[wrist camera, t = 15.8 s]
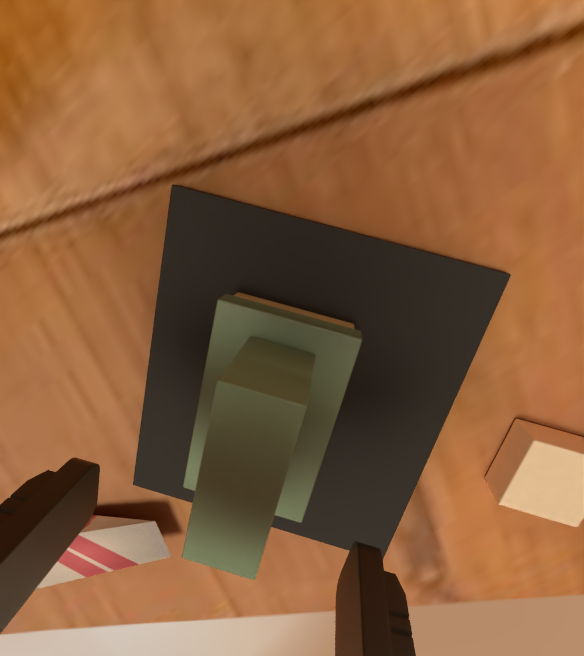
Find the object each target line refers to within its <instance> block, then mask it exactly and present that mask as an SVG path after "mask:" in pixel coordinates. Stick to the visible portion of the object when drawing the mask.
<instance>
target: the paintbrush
mask: <svg viewBox="0 0 584 656" xmlns="http://www.w3.org/2000/svg"><path fill="white" fill-rule="evenodd" d="M168 557H171V555H170V553H169V550H168V548H167V546H166V544H165V542H164V539H163V537H162V535H161V533H160V531H159V528H158V526H157V524H156V522H155V521H149V520H139V519H128V518H118V517H108V516H97V515H92V517H91V518H90V520H89V522H88V523H87V524H86V526H85V527H84V528H83V529H82V531H81V532H80V533H79V535H78V536H77V537H76V538H75V540H74V541H73V542H72V543H71V545H70V546H69V547H68V549H67V550H66V551H65V552H64V554H63V555H62V556H61V557H60V559H59V560H58V561H57V562H56V564H55V565H54V566H53V568H52V569H51V570H50V571H49V573H48V574H47V575H46V576H45V578H44V579H43V580H42V582H41V583H40V584H39V585H38V587H37V588H36V589H39V588H43V587H47V586H51V585H55V584H59V583H64V582H68V581H72V580H76V579H80V578H84V577H89V576H93V575H97V574H101V573H105V572H109V571H114V570H118V569H122V568H126V567H130V566H134V565H139V564H143V563H147V562H151V561H155V560H159V559H164V558H168Z"/></svg>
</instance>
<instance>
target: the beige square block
mask: <svg viewBox="0 0 584 656" xmlns="http://www.w3.org/2000/svg"><path fill="white" fill-rule="evenodd" d="M485 480H486V482H487V483H488V485H489V487H490V489H491V491H492V493H493V495H494V497H495V499H496V500H497V502H498V504H499V505H502V506H505V507H508V508H512V509H515V510H519V511H522V512H525V513H529V514H532V515H536V516H539V517H542V518H546V519H549V520H553V521H556V522H559V523H563V524H566V525H570V526H573V527H578V526H579V524H580V523H581V521H582V520H583V518H584V437H581V436H577V435H574V434H570V433H567V432H563V431H559V430H556V429H552V428H549V427H545V426H542V425H538V424H535V423H531V422H528V421H524V420H520V419H515V421H514V423H513V425H512V427H511V429H510V430H509V432H508V434H507V436H506V438H505V440H504V442H503V444H502V446H501V448H500V450H499V451H498V453H497V455H496V457H495V459H494V461H493V463H492V465H491V467H490V469H489V470H488V472H487V474H486V476H485Z"/></svg>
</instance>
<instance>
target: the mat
mask: <svg viewBox="0 0 584 656" xmlns="http://www.w3.org/2000/svg"><path fill="white" fill-rule="evenodd" d="M510 276H511V275H510V274H508V273H506V272H502V271H498V270H495V269H491V268H487V267H483V266H480V265H476V264H472V263H468V262H465V261H461V260H457V259H453V258H449V257H446V256H442V255H438V254H434V253H431V252H427V251H423V250H419V249H416V248H412V247H408V246H404V245H400V244H397V243H393V242H389V241H385V240H382V239H378V238H374V237H370V236H367V235H363V234H359V233H355V232H351V231H348V230H344V229H340V228H336V227H333V226H329V225H325V224H321V223H318V222H314V221H310V220H306V219H302V218H299V217H295V216H291V215H287V214H284V213H280V212H276V211H272V210H269V209H265V208H261V207H257V206H253V205H250V204H246V203H242V202H238V201H235V200H231V199H227V198H223V197H220V196H216V195H212V194H208V193H204V192H201V191H197V190H193V189H189V188H186V187H182V186H178V185H172V188H171V196H170V204H169V211H168V219H167V227H166V235H165V242H164V250H163V258H162V265H161V273H160V281H159V289H158V296H157V304H156V312H155V319H154V327H153V335H152V343H151V350H150V358H149V366H148V373H147V381H146V389H145V397H144V404H143V412H142V420H141V427H140V435H139V443H138V450H137V458H136V466H135V474H134V481H133V485H136V486H139V487H142V488H146V489H149V490H152V491H155V492H159V493H162V494H165V495H169V496H172V497H175V498H178V499H182V500H185V501H188V502H192V503H193V499H194V494H195V491H194V490H190V489H187V488H184V487H183V484H184V479H185V473H186V468H187V462H188V457H189V452H190V446H191V441H192V435H193V430H194V425H195V419H196V414H197V408H198V403H199V398H200V392H201V387H202V381H203V376H204V371H205V365H206V360H207V354H208V349H209V344H210V338H211V333H212V327H213V322H214V317H215V311H216V306H217V300H218V299H219V298H221V297H222V296H223V295H225V294H229V295H233V296H234V295H235V294H236V293H237V292H240V293H244V294H247V295H251V296H254V297H258V298H262V299H265V300H269V301H273V302H276V303H280V304H284V305H287V306H291V307H294V308H298V309H302V310H305V311H309V312H313V313H316V314H320V315H323V316H327V317H331V318H334V319H338V320H342V321H345V322H349V323H353V324H354V327H355V329H356V330H360V331H361V335H362V343H361V346H360V349H359V352H358V355H357V358H356V361H355V364H354V367H353V370H352V373H351V376H350V379H349V382H348V385H347V388H346V391H345V394H344V397H343V400H342V403H341V406H340V409H339V412H338V415H337V418H336V421H335V424H334V427H333V430H332V433H331V436H330V439H329V442H328V445H327V448H326V451H325V454H324V457H323V460H322V463H321V466H320V469H319V472H318V475H317V478H316V481H315V484H314V487H313V490H312V493H311V496H310V499H309V502H308V505H307V508H306V511H305V514H304V517H303V520H302V522H297V521H293V520H290V519H287V518H283V517H280V516H277V515H274V518H273V522H272V525H271V527H274V528H277V529H280V530H284V531H287V532H290V533H294V534H297V535H300V536H303V537H307V538H310V539H313V540H317V541H320V542H323V543H326V544H330V545H333V546H336V547H340V548H343V549H346V550H349V551H350V550H351V547H352V545H353V543H354V542H355V541H357V542H360V543H364V544H367V545H370V546H374V547H377V548H380V550H381V553H382V560H383V558H384V555H385V553H386V551H387V549H388V547H389V544H390V542H391V540H392V538H393V535H394V533H395V531H396V529H397V527H398V524H399V522H400V520H401V518H402V515H403V513H404V511H405V509H406V507H407V504H408V502H409V500H410V498H411V495H412V493H413V491H414V489H415V487H416V484H417V482H418V480H419V478H420V475H421V473H422V471H423V469H424V467H425V464H426V462H427V460H428V458H429V456H430V453H431V451H432V449H433V447H434V444H435V442H436V440H437V438H438V436H439V433H440V431H441V429H442V427H443V424H444V422H445V420H446V418H447V416H448V413H449V411H450V409H451V407H452V404H453V402H454V400H455V398H456V396H457V393H458V391H459V389H460V387H461V384H462V382H463V380H464V378H465V376H466V373H467V371H468V369H469V367H470V365H471V362H472V360H473V358H474V356H475V353H476V351H477V349H478V347H479V345H480V342H481V340H482V338H483V336H484V333H485V331H486V329H487V327H488V325H489V322H490V320H491V318H492V316H493V313H494V311H495V309H496V307H497V305H498V302H499V300H500V298H501V296H502V293H503V291H504V289H505V287H506V285H507V282H508V280H509V278H510Z"/></svg>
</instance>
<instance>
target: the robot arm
mask: <svg viewBox="0 0 584 656" xmlns="http://www.w3.org/2000/svg"><path fill="white" fill-rule="evenodd" d="M99 472H100V467H99V465H98V464H95V463H92V462H89V461H85V460H82V459H78V458H72V459H70V460H69V461H68V462H66V463H65V464H64V465H63V466H62V467H61V468H60V469H59V470H58V471H57V472H53V471H50V470H47V471H45V472H43V473H41V474H39V475H37V476H35V477H34V478H32V479H30V480H28V481H27V482H25V483H24V484H23V485H22V486H21V487H20V488H19V489H18V490H16V491H15V492H14V493H13V494H12V495H11V497H10V498H7V499H6V500H5V501H4V502H3V503H2V504H1V505H0V634H1V632H2V631H3V630H4V628H5V627H6V626H7V625H8V623H9V622H10V621H11V620H12V618H13V617H14V616H15V615H16V613H17V612H18V611H19V609H20V608H21V607H22V606H23V604H24V603H25V602H26V601H27V599H28V598H29V597H30V595H31V594H32V593H33V592H34V590H35V589H36V588H37V587H38V585H39V584H40V583H41V582H42V580H43V579H44V578H45V576H46V575H47V574H48V573H49V571H50V570H51V569H52V568H53V566H54V565H55V564H56V562H57V561H58V560H59V559H60V557H61V556H62V555H63V554H64V552H65V551H66V550H67V549H68V547H69V546H70V545H71V543H72V542H73V541H74V540H75V538H76V537H77V536H78V535H79V533H80V532H81V531H82V529H83V528H84V527H85V526H86V524H87V523H88V522H89V520H90V518H91V517H92V515H93V513H94V510H95V508H96V505H97V499H98V485H99ZM335 656H416V655H415V649H414V643H413V638H412V631H411V625H410V620H409V613H408V607H407V601H406V594H405V592H404V590H403V588H402V586H401V584H400V582H399V580H398V578H397V576H396V574H393V573H390V572H386V571H384V568H383V560H382V553H381V550H380V548H377V547H374V546H370V545H367V544H364V543H360V542H357V541H355V542H354V543H353V545H352V547H351V550H350V552H349V554H348V557H347V559H346V562H345V564H344V566H343V569H342V571H341V574H340V577H339V580H338V585H337V592H336V634H335Z"/></svg>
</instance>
